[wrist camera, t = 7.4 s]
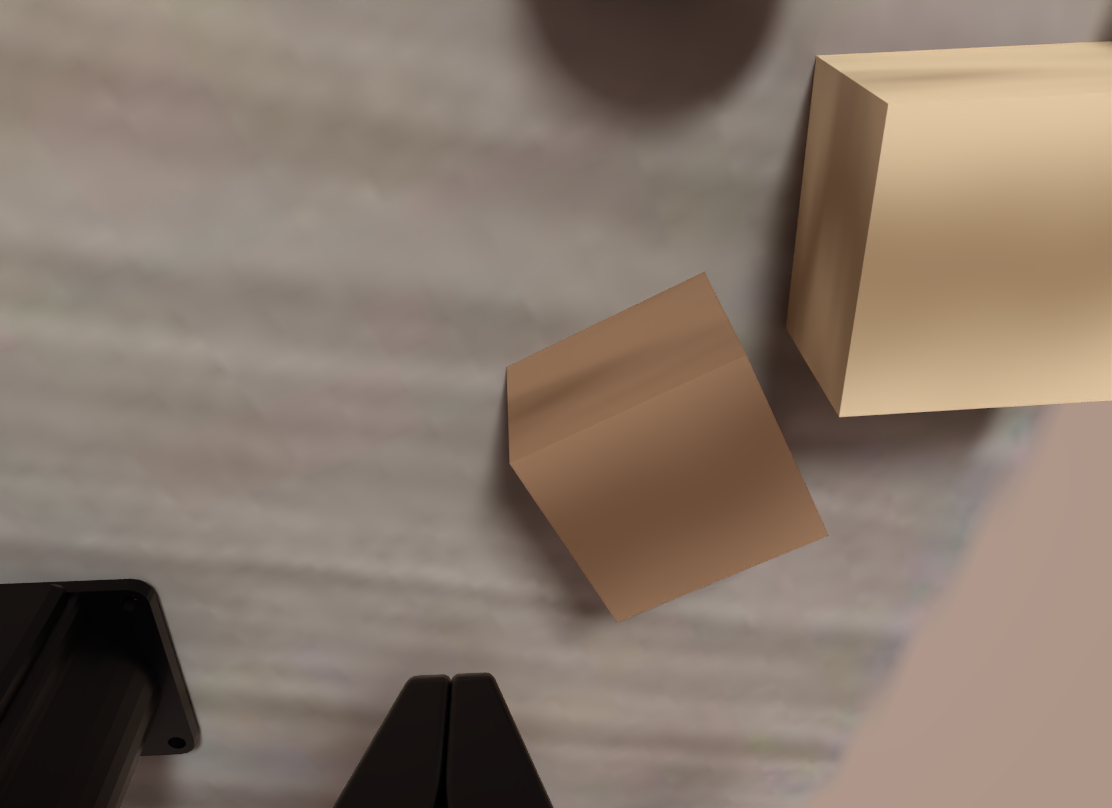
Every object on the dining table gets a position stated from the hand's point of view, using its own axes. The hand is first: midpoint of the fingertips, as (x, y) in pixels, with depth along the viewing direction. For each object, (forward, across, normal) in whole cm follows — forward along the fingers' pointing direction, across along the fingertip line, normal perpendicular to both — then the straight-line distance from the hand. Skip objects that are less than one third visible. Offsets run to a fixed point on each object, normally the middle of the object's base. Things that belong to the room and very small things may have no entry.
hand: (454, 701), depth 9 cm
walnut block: (+12, -4, +4) cm, 13 cm away
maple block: (+12, -10, -1) cm, 16 cm away
